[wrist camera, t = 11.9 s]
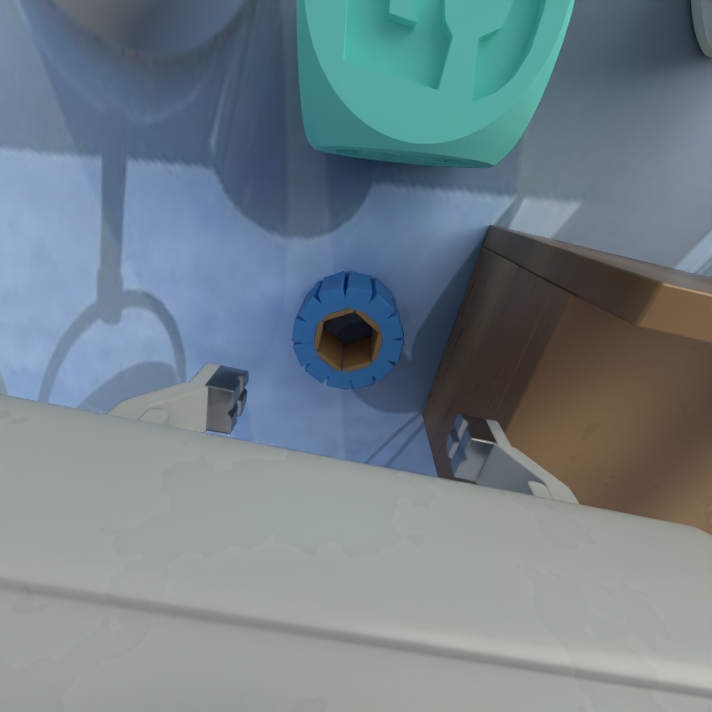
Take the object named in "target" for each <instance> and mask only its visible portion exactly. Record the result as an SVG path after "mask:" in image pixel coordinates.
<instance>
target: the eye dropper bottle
mask: <svg viewBox="0 0 712 712" xmlns="http://www.w3.org/2000/svg"><path fill="white" fill-rule="evenodd" d="M691 12H692V20H693V26H694V30H695V34H696V37H697V40H698V43H699V46H700V48H701V50H702V51H703V53H704V54H705V55H706V56H708V57H709V58H712V0H691Z"/></svg>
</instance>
